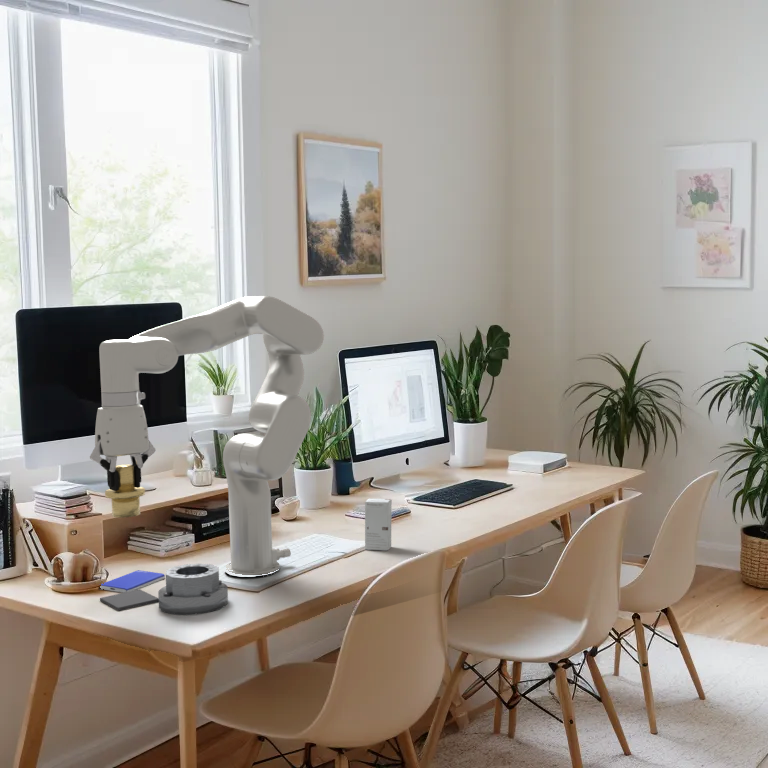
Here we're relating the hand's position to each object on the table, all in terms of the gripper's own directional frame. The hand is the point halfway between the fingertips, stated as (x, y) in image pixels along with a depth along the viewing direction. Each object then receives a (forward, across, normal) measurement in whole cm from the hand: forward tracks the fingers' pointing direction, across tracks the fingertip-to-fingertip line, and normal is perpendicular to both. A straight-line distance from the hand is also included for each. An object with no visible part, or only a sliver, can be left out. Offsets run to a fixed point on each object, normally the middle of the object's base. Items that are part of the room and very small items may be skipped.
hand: (124, 487), depth 209 cm
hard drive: (+25, -6, -12) cm, 28 cm away
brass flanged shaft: (+6, 0, 0) cm, 6 cm away
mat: (+24, 0, 0) cm, 24 cm away
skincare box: (+24, -65, +2) cm, 69 cm away
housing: (+24, -9, +11) cm, 28 cm away
